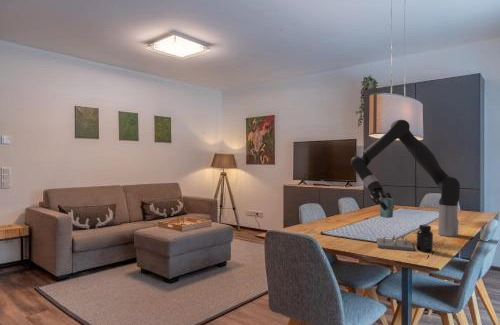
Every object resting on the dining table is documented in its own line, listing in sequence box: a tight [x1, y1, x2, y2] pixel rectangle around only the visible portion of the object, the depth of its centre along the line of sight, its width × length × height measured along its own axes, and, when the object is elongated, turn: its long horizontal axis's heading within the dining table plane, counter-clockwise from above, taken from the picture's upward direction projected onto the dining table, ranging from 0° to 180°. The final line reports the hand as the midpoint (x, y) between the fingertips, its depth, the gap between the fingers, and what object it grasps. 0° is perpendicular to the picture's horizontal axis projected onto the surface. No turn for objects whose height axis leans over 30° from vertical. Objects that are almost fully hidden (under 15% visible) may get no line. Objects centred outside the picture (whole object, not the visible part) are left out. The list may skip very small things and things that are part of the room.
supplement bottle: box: [416, 224, 434, 253], centre depth 163 cm, size 7×7×12 cm
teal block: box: [379, 197, 394, 219], centre depth 187 cm, size 4×4×10 cm
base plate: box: [376, 235, 415, 252], centre depth 172 cm, size 16×14×4 cm
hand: (389, 208), depth 185 cm, fingers closed on teal block, 4 cm apart
